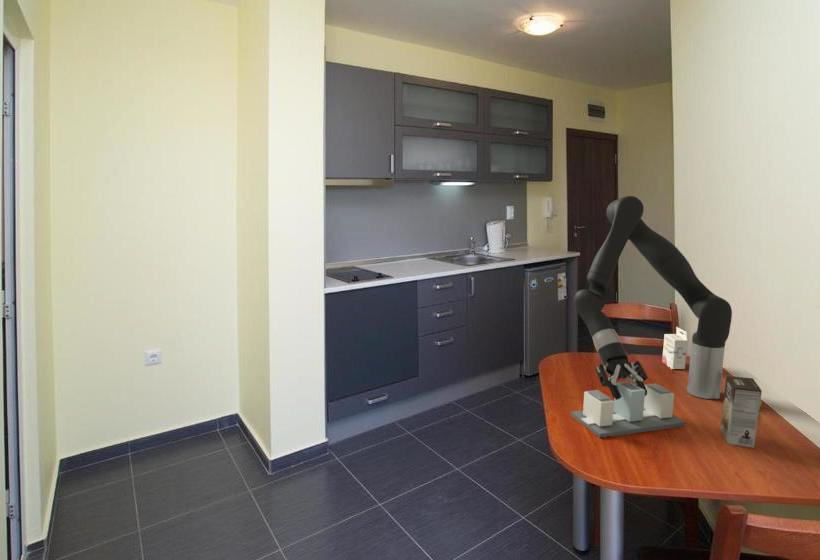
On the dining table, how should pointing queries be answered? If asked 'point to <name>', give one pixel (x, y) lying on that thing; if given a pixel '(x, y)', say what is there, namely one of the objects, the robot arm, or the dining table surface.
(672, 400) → the module
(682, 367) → the ink cartridge box
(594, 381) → the dining table surface
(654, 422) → the mounting board
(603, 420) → the module
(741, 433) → the coffee box
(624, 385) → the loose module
